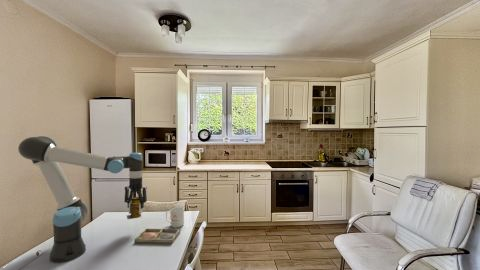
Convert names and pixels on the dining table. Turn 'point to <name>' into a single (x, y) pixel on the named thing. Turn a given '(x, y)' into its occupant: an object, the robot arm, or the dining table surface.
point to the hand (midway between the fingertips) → (135, 213)
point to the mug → (176, 217)
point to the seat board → (157, 236)
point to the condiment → (134, 208)
